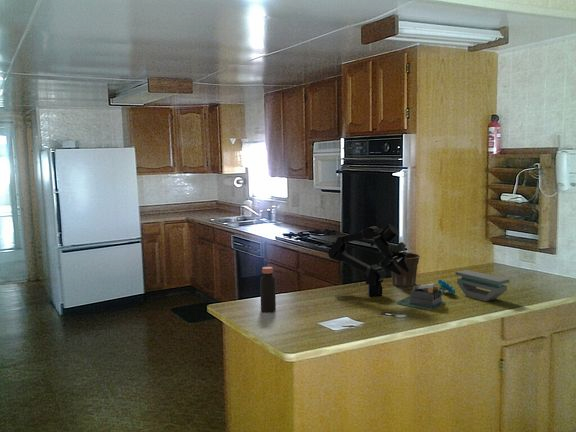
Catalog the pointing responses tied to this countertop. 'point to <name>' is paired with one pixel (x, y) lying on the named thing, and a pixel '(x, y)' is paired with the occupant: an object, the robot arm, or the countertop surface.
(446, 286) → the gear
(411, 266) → the plant pot
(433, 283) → the retention strap
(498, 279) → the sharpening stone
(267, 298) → the bottle
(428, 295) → the heatsink board
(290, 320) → the countertop surface
